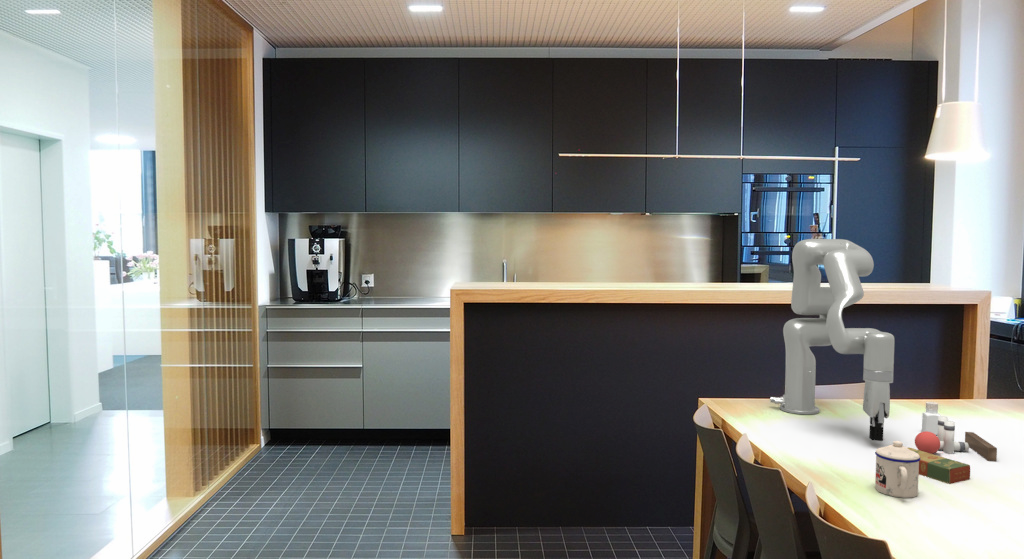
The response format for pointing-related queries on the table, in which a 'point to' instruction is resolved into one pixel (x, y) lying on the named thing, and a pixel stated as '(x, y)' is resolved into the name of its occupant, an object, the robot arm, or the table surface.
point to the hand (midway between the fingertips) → (876, 439)
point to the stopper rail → (981, 446)
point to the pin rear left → (941, 427)
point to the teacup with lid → (897, 471)
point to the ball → (927, 442)
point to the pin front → (957, 446)
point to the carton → (942, 468)
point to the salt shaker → (930, 418)
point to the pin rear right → (949, 437)
